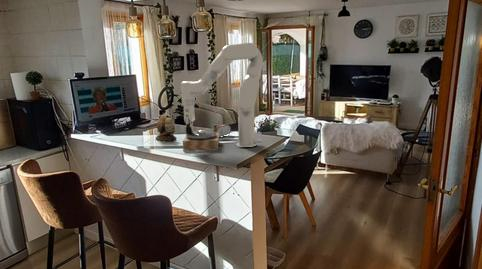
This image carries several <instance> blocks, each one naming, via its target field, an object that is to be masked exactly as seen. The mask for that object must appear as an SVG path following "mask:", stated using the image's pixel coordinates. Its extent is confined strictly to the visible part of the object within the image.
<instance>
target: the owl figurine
mask: <svg viewBox="0 0 482 269" xmlns="http://www.w3.org/2000/svg"><path fill="white" fill-rule="evenodd" d="M156 129H157V132H158V133H159V134H158V135H156V136H155V140H156V141H158V142H162V141H165V142H166V143H167V142H168V141H169V142H172V141H177V140H176V139H177V137H176V135H174V134H175V133H176V130H175V129H176V127H175V124H174V122H173V118H172V117H167V114H165V113H164V114H161V116H160V117H159V118H158V120H157V121H156ZM165 142H164V143H165ZM169 142H168V143H169Z"/></svg>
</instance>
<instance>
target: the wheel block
mask: <svg viewBox="0 0 482 269" xmlns="http://www.w3.org/2000/svg"><path fill="white" fill-rule="evenodd" d="M218 144H220V138H219V133H216V137H214V138H210V139H189V138H187V137H186V135H185V136H184V138H183V139H182V151H183V152H193V151H194V152H197V151H196V150H209V151H214V150H213V149H218V150H219V146H218Z"/></svg>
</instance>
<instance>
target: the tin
mask: <svg viewBox="0 0 482 269" xmlns="http://www.w3.org/2000/svg"><path fill="white" fill-rule="evenodd" d="M231 130H232V129H231V126H230V125H229V124H226V123H224V124H223V123H222V124H219V125H216V126H215V127H214V129H213V131H214V132H216V133H219V137H221V136H224V135H227V134H229V135H231Z"/></svg>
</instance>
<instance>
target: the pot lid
mask: <svg viewBox="0 0 482 269" xmlns="http://www.w3.org/2000/svg"><path fill="white" fill-rule="evenodd" d="M191 127H192V134H185V136H186V137H187V138H189V139H210V138H214V137H216V132H214V130H206V129H198V130H194V124H193V125H191Z"/></svg>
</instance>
